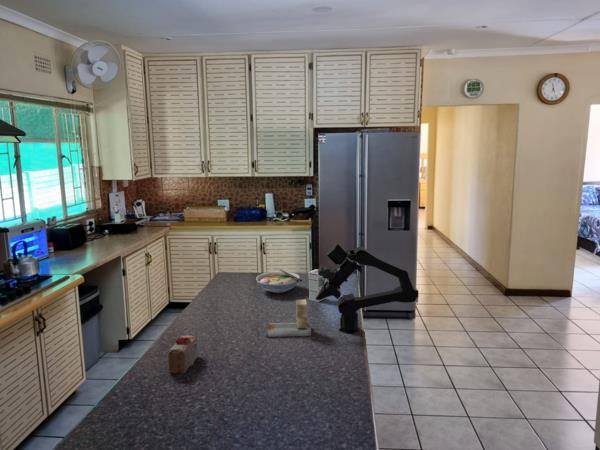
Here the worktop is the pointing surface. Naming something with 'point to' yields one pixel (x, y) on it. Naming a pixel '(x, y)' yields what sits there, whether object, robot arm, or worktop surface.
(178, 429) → the worktop surface
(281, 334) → the fader track
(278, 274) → the ramen bowl
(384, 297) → the robot arm
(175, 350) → the food item
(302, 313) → the lever
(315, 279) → the syrup box
